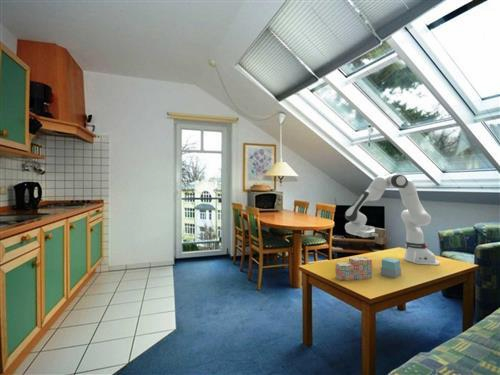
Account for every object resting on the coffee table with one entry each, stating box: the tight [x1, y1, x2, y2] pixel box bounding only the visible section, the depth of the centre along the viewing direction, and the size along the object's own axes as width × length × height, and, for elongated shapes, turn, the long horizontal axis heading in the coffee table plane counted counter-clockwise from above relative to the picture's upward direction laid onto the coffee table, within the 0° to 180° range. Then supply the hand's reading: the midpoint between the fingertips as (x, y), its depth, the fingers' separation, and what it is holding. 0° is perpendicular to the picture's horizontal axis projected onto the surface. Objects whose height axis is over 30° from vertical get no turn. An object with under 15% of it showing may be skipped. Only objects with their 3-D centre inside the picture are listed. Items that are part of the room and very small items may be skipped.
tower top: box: [381, 257, 401, 271], centre depth 165 cm, size 8×8×5 cm
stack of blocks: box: [335, 256, 373, 281], centre depth 159 cm, size 21×6×12 cm, turn 100°
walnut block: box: [374, 227, 387, 245], centre depth 176 cm, size 5×5×10 cm
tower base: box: [380, 266, 402, 279], centre depth 165 cm, size 9×9×5 cm
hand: (381, 234), depth 175 cm, fingers closed on walnut block, 5 cm apart
